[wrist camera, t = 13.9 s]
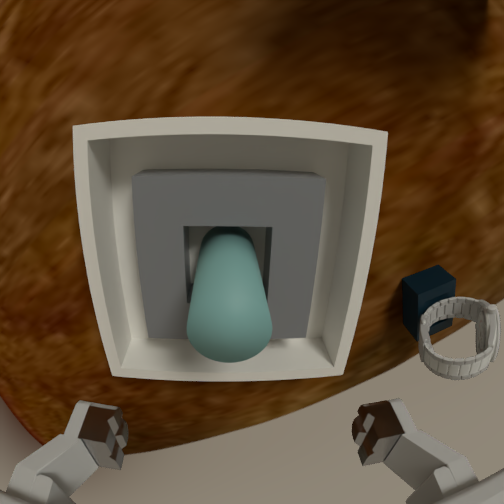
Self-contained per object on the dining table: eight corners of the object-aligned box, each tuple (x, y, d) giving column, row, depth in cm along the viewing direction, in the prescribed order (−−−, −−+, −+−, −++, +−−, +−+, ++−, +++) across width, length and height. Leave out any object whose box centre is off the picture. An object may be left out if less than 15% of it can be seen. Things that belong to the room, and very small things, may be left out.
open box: (357, 129, 22) (387, 131, 17) (327, 339, 29) (342, 374, 25) (102, 124, 20) (72, 125, 16) (125, 339, 27) (112, 375, 23)
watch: (450, 303, 29) (510, 364, 19) (388, 329, 30) (439, 406, 19) (453, 257, 27) (525, 315, 17) (385, 283, 27) (449, 359, 17)
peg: (255, 224, 23) (275, 293, 14) (253, 274, 25) (269, 361, 15) (199, 224, 23) (183, 294, 14) (201, 274, 24) (189, 362, 15)
